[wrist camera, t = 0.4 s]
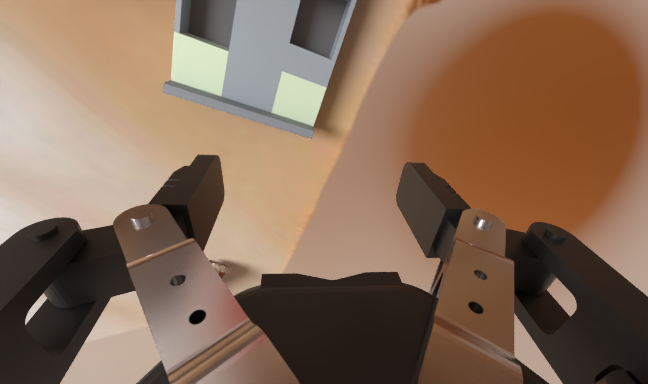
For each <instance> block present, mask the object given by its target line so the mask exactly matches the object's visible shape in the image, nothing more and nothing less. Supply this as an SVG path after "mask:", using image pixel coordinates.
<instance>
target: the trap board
mask: <svg viewBox="0 0 648 384" xmlns="http://www.w3.org/2000/svg"><path fill="white" fill-rule="evenodd" d="M356 1H357V0H176V12H175V26H174V41H173V56H172V71H171V80H170V81H168V82H165V83H163V93H166V94H169V95H172V96H175V97H178V98H182V99H185V100H188V101H191V102H195V103H198V104H201V105H204V106H207V107H211V108H214V109H217V110H220V111H224V112H227V113H230V114H233V115H236V116H240V117H243V118H246V119H249V120H253V121H256V122H259V123H262V124H265V125H269V126H272V127H275V128H278V129H282V130H285V131H288V132H291V133H294V134H298V135H301V136H304V137H307V138H311V139H312V137H313V134H314V127H313V126H314V123H315V120H316V117H317V115H318V112H319V109H320V106H321V103H322V100H323V97H324V94H325V91H326V88H327V85H328V83H329V80H330V77H331V74H332V71H333V68H334V65H335V62H336V59H337V56H338V54H339V51H340V48H341V45H342V42H343V39H344V36H345V33H346V30H347V27H348V24H349V22H350V19H351V16H352V13H353V10H354V7H355V4H356Z"/></svg>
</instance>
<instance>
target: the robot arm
mask: <svg viewBox="0 0 648 384" xmlns="http://www.w3.org/2000/svg"><path fill="white" fill-rule="evenodd" d="M396 200H397V205H398V207H399V209H400V211H401V212H402V214H403V216H404V217H405V220H406V221H407V223H408V225H409V227H410V229H411V230H412V232H413V234H414V236H415V238H416V239H417V241H418V243H419V245H420V247H421V249H422V250H423V252H424V254H425V256H426V258H440V260H441V261H440V263H439V265H438V268H437V270H436V273H435V276H434V279H433V282H432V285H431V288H430V291H429V293H428V292H426V291H423V290H422V289H419V288H417V287H415V286H412V285H409V284H405V283H402V282H401V279H400V277H399V275H398V272H369V273H367V272H366V273H362V274H358V275H354V276H350V277H346V278H342V279H338V280H327V279H322V278H317V277H312V276H307V275H302V274H262V279H261V285H259V286H256V287H252V288H250V289H247V290H245V291H242V292H240V293H238V294H236V295H235V296H233V295H232V293H231V292H230V290H229V289H228V287H227V286H226V285H225V283H224V282H223V280H222V279H221V277H220V276H219V274H218V273H217V271H216V270H215V269H214V267H213V266H212V264H211V263H210V261H209V260H208V258H207V257H206V256H205V254H204V253H203V251H204V248H205V246H206V243H207V241H208V238H209V236H210V233H211V231H212V228H213V226H214V224H215V221H216V219H217V216H218V214H219V211H220V209H221V206H222V204H223V201H224V184H223V177H222V170H221V163H220V158H219V156H218V155H197V157H196V158H195V159H194V161H193V162H192V163H191V165H190V166H184V167H182V168H180V169H178V170H177V171H175V172H174V173H173V174H172V175H171V176H170V178H169V179H168V181H166V182H165V184H164V185H163V187H161V189H160V190H159V191H158V192H157V194H156V195H155V196H154V197H153V199H152V200H151V201H150V202H149V203H148V204H146V205H140V206H136V207H133V208H131V209H128V210H126V211H124V212H123V213H121V214H120V215H119V216H118V217H117V218H116V219H115V220H114V222H113V225H111V226H106V227H100V228H94V229H89V230H83V231H82V229H81V227H80V226H79V224H78V222H77V221H76V220H74V219H71V218H53V219H48V220H44V221H40V222H37V223H34V224H32V225H29V226H27V227H25V228H23V229H21V230H20V231H18V232H16V233H15V234H14V235H12V236H11V237H10V238H9V239H8V240H6V241H5V242H4V243H3V244H1V245H0V384H60V382H61V380H62V379H63V377H64V376H65V374H66V372H67V371H68V369H69V367H70V365H71V364H72V362H73V361H74V359H75V357H76V355H77V354H78V352H79V350H80V349H81V347H82V345H83V344H84V342H85V340H86V339H87V337H88V335H89V334H90V332H91V330H92V329H93V327H94V325H95V324H96V322H97V320H98V319H99V317H100V315H101V313H102V312H103V310H104V308H105V307H106V305H107V303H108V302H109V300H110V298H111V297H113V296H117V295H120V294H124V293H128V292H132V291H136V293H137V295H138V298H139V301H140V303H141V306H142V309H143V311H144V314H145V317H146V320H147V322H148V325H149V328H150V330H151V333H152V336H153V338H154V341H155V344H156V347H157V349H158V352H159V354H160V357H161V361H160V362H159V363H158V364H157V365H156V366H155V367H154V368H153V369H152V370H150V371H149V372H148V373H147V374H146V375H145V376H144V377H143V378H142V379H141V380H140V381H139V382H138V383H136V384H549V383H547V382H546V381H545V380H544V379H542V378H541V377H540V376H539V375H537V374H536V373H534V372H533V371H532V370H531V369H529V368H528V367H527V366H525V365H524V364H523V363H521V362H520V361H519V360H517V359H516V358H515V357H514V313H515V314H516V316H517V317H518V319H519V320H520V322H521V323H522V324H523V326H524V327H525V329H526V330H527V332H528V333H529V335H530V336H531V337H532V339H533V340H534V342H535V343H536V345H537V346H538V348H539V349H540V351H541V352H542V354H543V355H544V356H545V358H546V360H547V361H548V362H549V364H550V365H551V367H552V368H553V370H554V371H555V373H556V374H557V376H558V377H559V378H560V380H561V381H562V383H563V384H648V297H647V296H646V295H645V294H644V293H643V292H641V291H640V290H639V289H638V288H636V287H635V286H634V285H633V284H632V283H630V282H629V281H628V280H627V279H626V278H624V277H623V276H622V275H621V274H619V273H618V272H617V271H616V270H615V269H613V268H612V267H611V266H610V265H609V264H607V263H606V262H605V261H604V260H602V259H601V258H600V257H599V256H598V255H596V254H595V253H594V252H593V251H592V250H590V249H589V248H588V247H587V246H585V245H584V244H583V243H582V242H581V241H579V240H578V239H577V238H576V237H575V236H573V235H572V234H570V233H569V232H567V231H566V230H564V229H562V228H559V227H557V226H554V225H552V224H548V223H543V222H535V223H532V224H531V226H530V227H529V228H528V230H527V232H526V233H524V232H519V231H514V230H509V229H506V226H505V224H504V223H503V222H502V221H501V220H500V219H499V218H498V217H496V216H495V215H493V214H491V213H489V212H486V211H483V210H479V209H471V208H470V207H469V205H468V204H467V203H466V202H465V201H464V200H463V199H462V198H461V197H460V196H459V195H458V194H456V191H455V190H454V189H453V188H451V186H450V185H449V184H448V183H447V182H446V181H445V180H444V179H442V178H441V177H439V176H437V175H436V174H434V173H433V172H432V171H431V170H430V169H429V167H428V166H427V165H426V164H425V163H412V162H407V163H406V164H405V165H404V168H403V171H402V175H401V179H400V183H399V186H398V190H397V195H396ZM556 278H558V279H559V280H560V281H561V282H562V284H564V286H565V287H566V288H567V289H568V290H569V291H570V292H571V293H572V294H573V296H574V297H575V299H576V302H577V309H576V311H575V313H574V314H573V315H572V316H571V317H570V316H569V315H568V314H567V313H566V312H565V310H564V309H563V308H562V307H561V306H560V305H559V304H558V302H557V301H556V300H555V299H554V298H553V297H552V295H550V293H549V292H548V291H547V289H548V287H549V286H550V285H551V284H552V282H553V281H554V280H555V279H556ZM43 293H44V294H45V296H46V297H47V300H46V301H45V302H44V303H43V304H42V306H41V307H40V308H39V309H38V311H37V312H36V313H35V314H34V315H33V317H32V318H31V319H30V320H29V322H28V323H27V324H26V325H25V319H26V316H27V313H28V311H29V310H30V308H31V307H32V306H33V304H34V303H35V302H36V301H37V300H38V299H39V297H40V296H41V295H42V294H43Z"/></svg>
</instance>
